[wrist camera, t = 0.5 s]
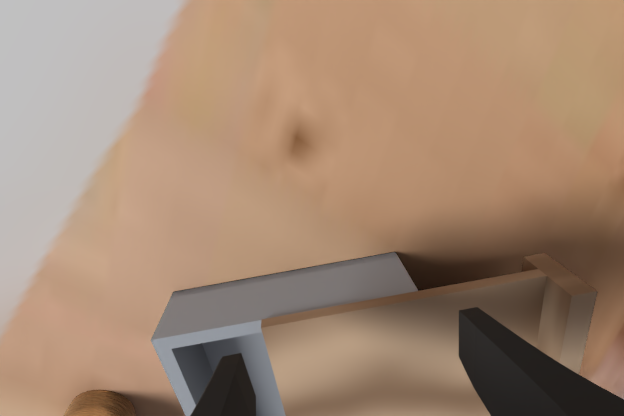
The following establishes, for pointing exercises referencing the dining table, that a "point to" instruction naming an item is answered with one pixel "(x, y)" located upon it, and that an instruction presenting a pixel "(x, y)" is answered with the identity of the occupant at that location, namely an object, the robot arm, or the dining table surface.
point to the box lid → (420, 343)
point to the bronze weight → (100, 404)
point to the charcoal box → (259, 320)
